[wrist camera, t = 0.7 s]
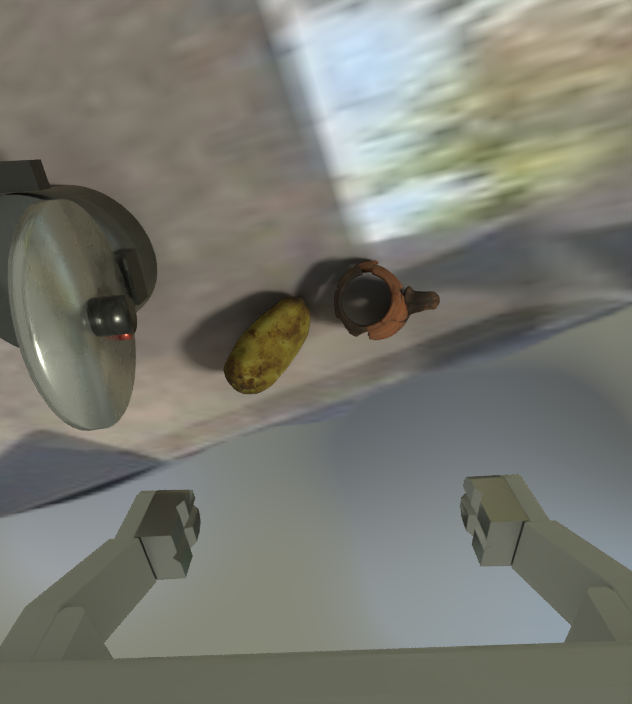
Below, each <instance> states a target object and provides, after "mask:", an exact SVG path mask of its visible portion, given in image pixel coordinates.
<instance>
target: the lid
mask: <svg viewBox="0 0 632 704" xmlns="http://www.w3.org/2000/svg"><path fill="white" fill-rule="evenodd" d="M8 291H9V303H10V309H11V315H12V321H13V325H14V330H15V334H16V338H17V342H18V345H19V348H20V351H21V354H22V357H23V360H24V362H25V365H26V367H27V369H28V372H29V374H30V377H31V378H32V380H33V382H34V384H35V386H36V388H37V390H38V392H39V393H40V395H41V396H42V398H43V399H44V401H45V402H46V404H47V405H48V406H49V407H50V408H51V410H52V411H53V412H54V413H55V414H56V415H57V416H58V417H59V418H60V419H61V420H62V421H64V422H65V423H66V424H68V425H70V426H71V427H73V428H76V429H79V430H85V431H90V430H97V429H104V428H108V427H111V426H113V425H114V424H116V423H117V422H118V421H119V420H120V419H121V417H122V416H123V414H124V413H125V411H126V409H127V407H128V404H129V401H130V398H131V394H132V391H133V385H134V378H135V366H136V346H135V332H136V328H137V316H136V310H135V306H134V303H133V301H132V299H131V297H130V296H129V295H128V291H127V288H126V285H125V281H124V278H123V274H122V271H121V268H120V264H119V261H118V262H117V260H116V257H115V255H114V253H113V251H112V249H111V246H110V244H109V242H108V241H107V239H106V237H105V235H104V234H103V232H102V230H101V229H100V227H99V226H98V224H97V223H96V222H95V221H94V219H93V218H92V217H91V216H90V215H89V214H88V213H87V212H86V211H85V210H84V209H83V208H82V207H80V206H79V205H78V204H76V203H74V202H72V201H70V200H65V199H57V200H44V201H38V202H36V203H34V204H32V205H31V206H29V207H28V208H27V209H26V210H25V211H24V213H23V214H22V216H21V217H20V218H19V220H18V223H17V225H16V227H15V230H14V233H13V237H12V240H11V244H10V251H9V259H8Z"/></svg>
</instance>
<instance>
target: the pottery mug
mask: <svg viewBox="0 0 632 704" xmlns="http://www.w3.org/2000/svg"><path fill="white" fill-rule="evenodd" d="M376 264H378V261H375V260H374V261H366V262H362V263H361V264H357V265H355V266H354V267H352V268H351V269H350V270H349V271H348V272H347V273H346V274H345V275H344V276H343V277H342V279H341V280H340V282H339V284H338V286H337V290H336V293H335V295H334V307H335V315H336V317H337V318H338V319H340V320H341V321H342V322H343V324H344V326H345V328H346V329H347V330H348V331H349V333H350V334H351V335H353V336H356V337H357V336H358V335H360V334H362V333H364V332H369V333H368V336H369V339H370V340H381V339H385V338H388V337H391V336H392V335H394V334H395V333H397V331H399V330H400V329H401V328H402V327H403V326H404V324H405V323H406V322H407V320H408V318H409V316H410V315H411V314H413V313H417V312H421V311H424V310H428V309H436V308H437V306H438V305H439V303H440V298H439V296H438V295H437V294H436V293H435V292H432V291H429V292H421V291H414V290H413V289H412V288H411V287H410V286H408V287H407V288H406V289H405V291H404V297H403V295H402V294H401V292H400V290H401V289H402V288H403V286H402V284H401V283H400V282H399V280H398V279H397V278H396V277H395V276H394V275H393V274H392V273H391V272H389V271H388V270H387V269H385V268H383V267H381V266H378V265H376ZM365 272H372V274H373V275H375V276H378V277H380V278H381V279H382V280H384V281H385V283H386V284H387V286H388V287H389V290H390V293H391V304H390V307H389V310H388V312H387V313H386V315H385V316H384V317H383V318H382V319H381V320H379V321H378V322H376V323H374V324H370V325H359V324H356V323H354V322H352V321H351V320H350V319H349V318H348V317H347V316H346V315H345V313H344V310H343V307H342V296H343V293H344V290H345V288H346V287H347V285H348V284H349V283H350V282H351V281H352V280H353V279H355V278H356V277H358V276H360V275H362V274H363V273H365Z"/></svg>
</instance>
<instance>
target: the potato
mask: <svg viewBox="0 0 632 704" xmlns="http://www.w3.org/2000/svg"><path fill="white" fill-rule="evenodd" d="M309 326H310V310H309V307H308V305H307V304H306V302H305V301H304V300H303V299H302V298H300V297H286V298H284V299H283V300H281V301H279V302H278V303H277V304H276V305H275V306H273V307H272V308H271V309H270V310H269V311H268V312H266V313H264V314H263V315H262V316H261V317H259V318H258V319H257V321H256V322H255V323H254V324H252V325H251V327H250V328H248V329H247V331H246V332H245V333H244V334H243V335H242V336H241V337H240V338H239V339H238V341H237V342H236V344H235V346H234V348H233V350H232V352H231V354H230V355H229V357H228V359H227V361H226V363H225V366H224V374H225V377H226V379H227V381H228V382H229V384H230V385H231V386H232V387H233V388H234V389H235V390H236V391H238V392H240V393H243V394H257V393H260V392H262V391H264V390H266V389H267V388H269V387H270V386H272V385H273V384H274V383H275V382H276V381H277V379H278V378H279V377H280V375H281V374H282V373H283V372H284V371H285V370H286V369H287V367H288V366H289V365H290V363H291V362H292V360H293V359H294V357H295V356H296V355H297V353H298V352H299V350H300V348H301V347H302V345H303V343H304V341H305V340H306V338H307V335H308V332H309Z"/></svg>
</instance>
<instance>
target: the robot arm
mask: <svg viewBox="0 0 632 704" xmlns="http://www.w3.org/2000/svg"><path fill="white" fill-rule="evenodd" d="M463 487H464V490H465V492H466V493H465V494H464V495H463V496H462V497H461V503H460V508H461V517H462V520H463V523H464V526H465V529H466V531H467V532H469V533H470V534H471V535H472V536H473V540H472V546H473V549H474V551H475V554H476V556H477V558H478V561H479V563H480V566H512V569H514V570H515V571H516V572H517V573H518V574H519V575H520V576H521V577H522V578H523V579H524V580H525V581H526V582H527V583H528V584H529V585H530V586H531V587H532V588H533V589H534V590H535V591H536V592H537V593H538V594H539V595H540V596H541V597H543V598H544V600H546V601H547V602H548V603H549V604H550V605H551V606H552V607H553V608H554V609H555V610H556V611H557V612H558V613H559V614H560V615H561V616H562V617H563V618H564V619H565V620H566V621H567V622H568V623H569V624H571V628H570V630H569V633H568V635H567V637H566V640H565V642H564V643H544V644H543V643H542V644H516V645H515V644H514V645H513V644H512V645H484V646H457V647H428V648H399V649H373V650H371V649H370V650H342V651H315V652H288V653H263V654H262V653H260V654H232V655H203V656H175V657H149V658H148V657H147V658H118V659H113V657H112V656H111V654H110V652H109V651H108V649H107V647H106V646H105V644H104V642H105V641H106V640H107V639H108V638H109V636H110V635H111V634H112V633H113V632H114V631H115V629H116V628H117V627H118V626H119V625H120V624H121V622H122V621H123V620H124V619H125V618H126V617H127V615H128V614H129V613H130V612H131V611H132V610H133V608H134V607H135V606H136V605H137V604H138V603H139V602H140V600H141V599H142V598H143V597H144V596H145V595H146V593H147V592H148V591H149V590H150V589H151V588H152V586H153V585H154V584H155V583H156V580H164V579H178V578H186V576H187V573H188V569H189V566H190V563H191V560H192V556H193V555H192V552H191V549H190V548H191V547H192V546H193V545H194V544H195V543H196V542H197V539H198V535H199V532H200V523H201V522H200V513H199V509H198V508H197V507H195V506H194V505H193V504H194V501H195V496H194V493H193V490H158V491H141V492H140V493H139V494H138V495H137V496H136V498H135V500H134V502H133V504H132V506H131V508H130V510H129V511H128V514H127V515H126V518H125V519H124V521H123V523H122V525H121V527H120V529H119V531H118V533H117V535H116V537H115V538H114V539H109V540H108V541H107V542H105V543H104V544H103V545H102V546H100V547H99V548H98V549H96V550H95V551H94V552H93V553H92V554H90V555H89V556H88V557H87V558H85V559H84V560H83V561H82V562H80V563H79V564H78V565H77V566H75V567H74V568H73V569H72V570H71V571H69V572H68V573H67V574H66V575H64V576H63V577H62V578H60V579H59V580H58V581H57V582H56V583H54V584H53V585H52V586H51V587H49V588H48V589H47V590H46V591H44V592H43V593H42V594H41V595H39V596H38V597H37V598H36V599H34V600H33V601H32V602H31V603H29V604H28V605H27V606H26V607H25V608H24V610H23V611H22V613H21V615H20V616H19V617H18V619H17V621H16V622H15V624H14V625H13V627H12V628H11V630H10V631H9V633H8V635H7V636H6V638H5V640H4V641H3V643H2V644H1V646H0V704H632V571H631V570H629V569H628V568H626V567H625V566H623V565H622V564H620V563H619V562H617V561H616V560H614V559H613V558H611V557H610V556H608V555H607V554H605V553H604V552H602V551H601V550H599V549H598V548H596V547H595V546H593V545H592V544H590V543H589V542H587V541H586V540H584V539H583V538H581V537H580V536H578V535H576V534H575V533H573V532H572V531H570V530H569V529H567V528H566V527H565V526H563V525H562V524H560V523H558V522H557V521H550V520H549V518H548V517H547V515H546V513H545V512H544V510H543V509H542V507H541V506H540V504H539V503H538V501H537V500H536V498H535V497H534V495H533V494H532V492H531V490H530V489H529V488H528V486H527V484H526V483H525V481H524V480H523V478H522V477H521V476H520V475H518V474H516V475H515V474H514V475H492V476H475V477H466V478H465V480H464V484H463Z"/></svg>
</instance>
